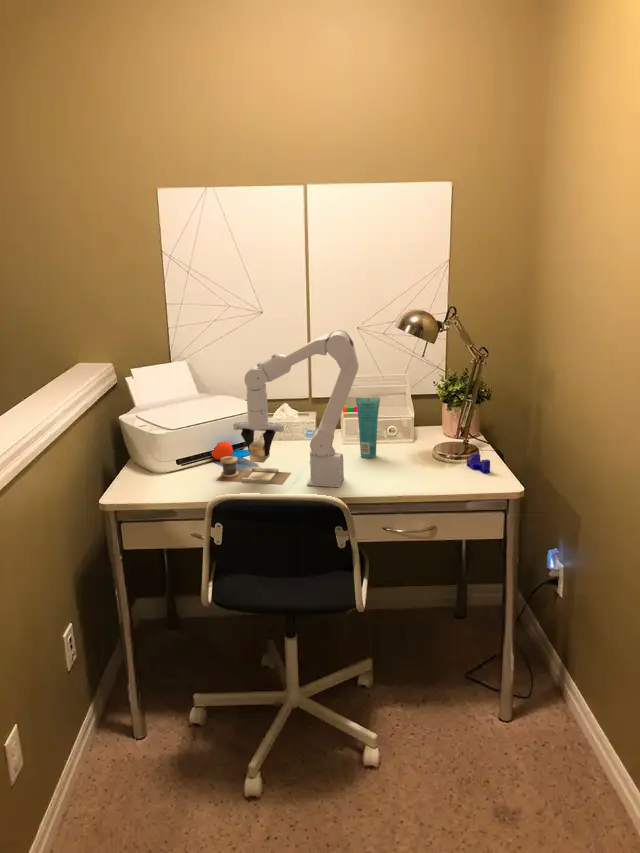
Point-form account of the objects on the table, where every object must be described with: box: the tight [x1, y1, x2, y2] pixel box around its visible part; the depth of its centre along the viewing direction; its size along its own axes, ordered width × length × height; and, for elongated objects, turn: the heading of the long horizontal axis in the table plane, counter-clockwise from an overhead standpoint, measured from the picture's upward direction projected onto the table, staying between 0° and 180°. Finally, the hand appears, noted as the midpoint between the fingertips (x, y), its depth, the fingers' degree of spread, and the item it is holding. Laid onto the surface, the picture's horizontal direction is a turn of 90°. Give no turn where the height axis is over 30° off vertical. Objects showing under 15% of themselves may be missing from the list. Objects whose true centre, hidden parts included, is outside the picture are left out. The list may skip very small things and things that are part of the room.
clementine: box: [210, 440, 234, 460], centre depth 232 cm, size 8×7×7 cm
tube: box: [355, 397, 381, 459], centre depth 232 cm, size 7×5×19 cm, turn 91°
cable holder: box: [466, 452, 491, 475], centre depth 221 cm, size 8×4×4 cm, turn 16°
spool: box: [219, 455, 239, 478], centre depth 216 cm, size 5×5×5 cm
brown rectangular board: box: [215, 466, 292, 486], centre depth 215 cm, size 20×10×2 cm, turn 77°
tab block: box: [249, 438, 271, 464], centre depth 212 cm, size 4×6×5 cm
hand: (259, 454), depth 213 cm, fingers closed on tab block, 4 cm apart
